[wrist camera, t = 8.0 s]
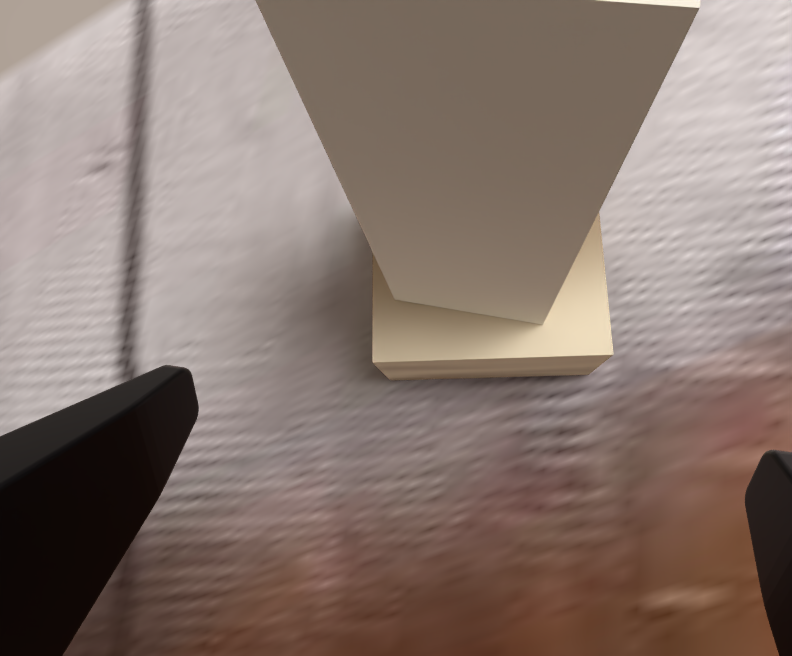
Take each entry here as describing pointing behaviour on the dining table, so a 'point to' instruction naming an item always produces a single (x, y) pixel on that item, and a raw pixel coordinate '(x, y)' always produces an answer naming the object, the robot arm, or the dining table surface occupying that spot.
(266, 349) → the dining table surface
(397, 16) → the pillar
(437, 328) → the tan glossy block
